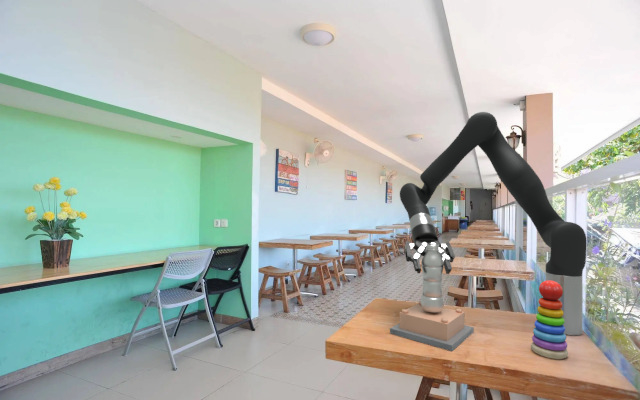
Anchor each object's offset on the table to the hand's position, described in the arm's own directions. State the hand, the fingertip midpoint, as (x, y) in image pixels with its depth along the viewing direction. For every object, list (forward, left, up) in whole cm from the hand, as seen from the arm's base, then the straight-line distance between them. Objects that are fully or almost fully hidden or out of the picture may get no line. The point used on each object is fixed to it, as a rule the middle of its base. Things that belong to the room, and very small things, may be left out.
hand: (434, 272), depth 99 cm
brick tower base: (-1, -1, -18) cm, 18 cm away
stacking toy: (-8, +27, -18) cm, 34 cm away
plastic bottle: (-1, -1, -12) cm, 12 cm away
